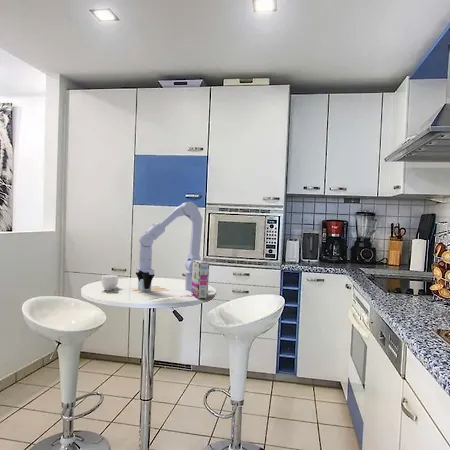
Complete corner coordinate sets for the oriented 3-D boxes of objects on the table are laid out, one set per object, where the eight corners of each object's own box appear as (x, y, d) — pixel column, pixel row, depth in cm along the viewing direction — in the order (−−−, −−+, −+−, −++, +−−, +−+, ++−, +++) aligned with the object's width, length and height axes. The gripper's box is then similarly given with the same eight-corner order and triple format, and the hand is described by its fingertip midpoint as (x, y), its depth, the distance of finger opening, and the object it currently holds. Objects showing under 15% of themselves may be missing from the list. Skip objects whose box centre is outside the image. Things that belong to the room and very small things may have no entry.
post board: (169, 292, 189) (170, 290, 189) (139, 295, 179) (139, 293, 179) (158, 288, 199) (158, 286, 199) (128, 290, 189) (128, 288, 189)
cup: (98, 290, 186) (98, 276, 186) (107, 287, 196) (107, 273, 196) (114, 291, 185) (114, 277, 185) (122, 288, 195) (122, 274, 195)
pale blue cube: (151, 290, 186) (151, 279, 186) (142, 291, 183) (142, 280, 183) (146, 288, 190) (147, 278, 189) (137, 289, 187) (138, 279, 187)
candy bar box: (208, 298, 177) (209, 262, 177) (197, 299, 175) (199, 262, 175) (200, 294, 188) (202, 259, 187) (190, 294, 186) (192, 260, 186)
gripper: (131, 257, 189) (130, 285, 190) (144, 261, 178) (143, 291, 178) (144, 257, 194) (143, 284, 194) (158, 260, 182) (157, 289, 182)
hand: (144, 287), depth 186 cm, fingers closed on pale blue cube, 5 cm apart
